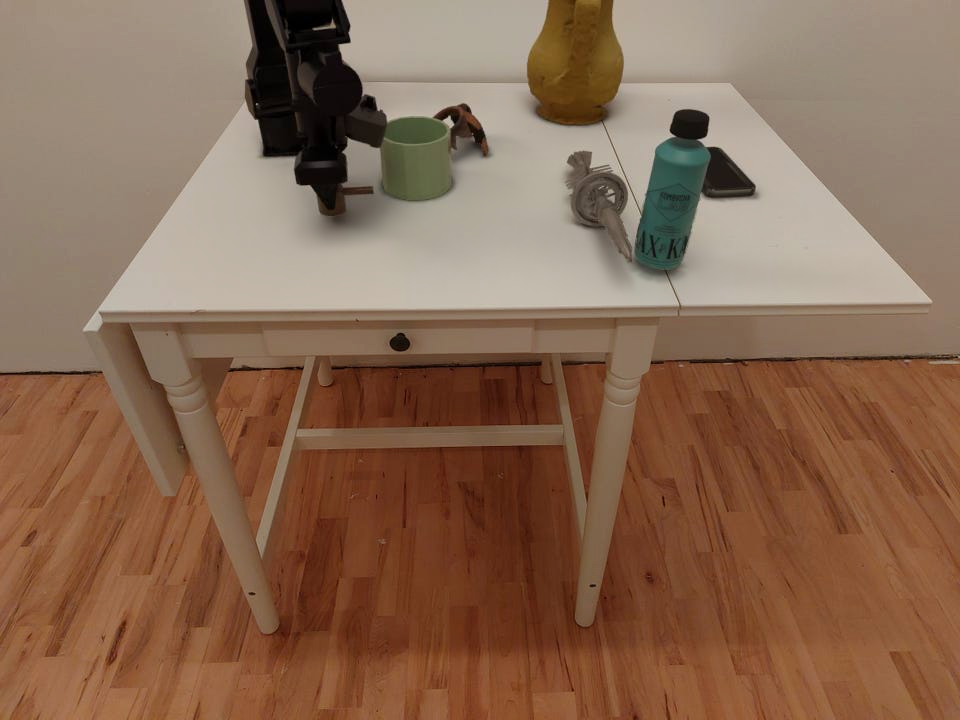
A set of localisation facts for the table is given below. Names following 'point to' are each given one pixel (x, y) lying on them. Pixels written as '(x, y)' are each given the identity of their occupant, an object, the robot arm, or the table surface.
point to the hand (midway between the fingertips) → (331, 202)
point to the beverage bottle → (673, 192)
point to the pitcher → (575, 62)
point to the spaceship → (599, 199)
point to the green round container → (416, 158)
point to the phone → (725, 177)
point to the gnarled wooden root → (464, 125)
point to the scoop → (343, 199)
